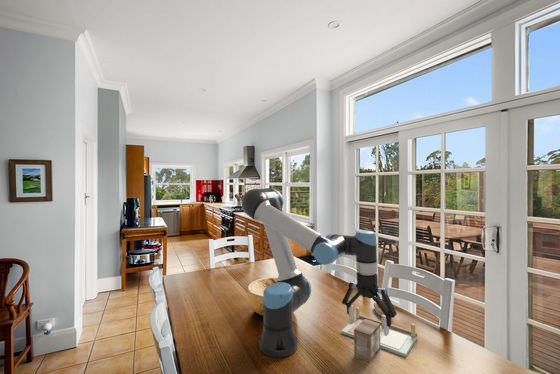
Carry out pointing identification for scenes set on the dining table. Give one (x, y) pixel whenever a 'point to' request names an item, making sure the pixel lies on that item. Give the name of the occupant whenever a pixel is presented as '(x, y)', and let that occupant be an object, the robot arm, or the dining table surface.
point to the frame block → (367, 340)
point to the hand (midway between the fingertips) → (368, 328)
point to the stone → (378, 310)
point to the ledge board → (394, 341)
